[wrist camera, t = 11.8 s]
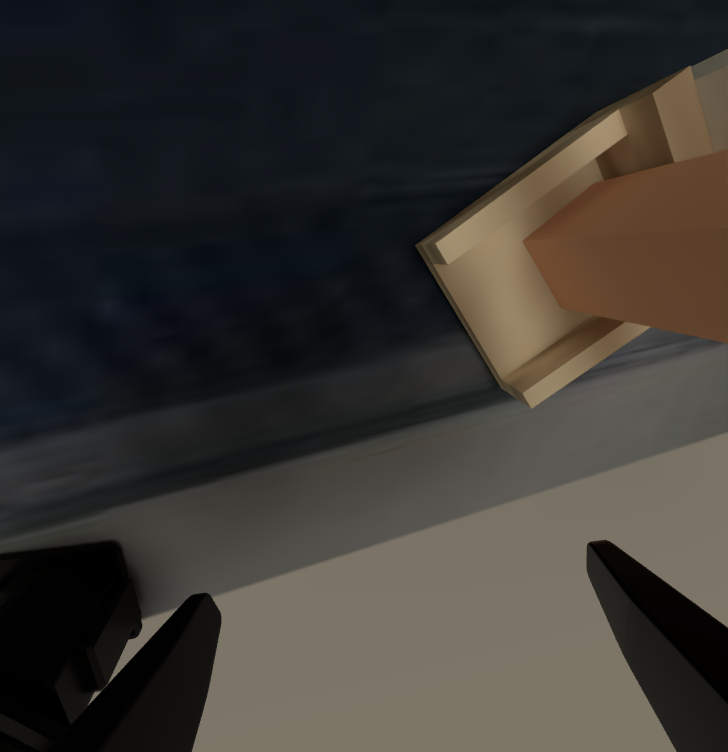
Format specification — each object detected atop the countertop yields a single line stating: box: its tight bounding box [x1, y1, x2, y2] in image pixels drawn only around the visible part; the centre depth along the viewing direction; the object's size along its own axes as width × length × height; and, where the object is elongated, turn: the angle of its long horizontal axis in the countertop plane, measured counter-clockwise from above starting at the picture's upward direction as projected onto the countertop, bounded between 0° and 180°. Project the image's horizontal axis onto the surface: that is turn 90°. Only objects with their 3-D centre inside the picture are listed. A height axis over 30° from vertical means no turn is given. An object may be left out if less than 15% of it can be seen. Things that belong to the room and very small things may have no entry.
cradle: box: [415, 66, 715, 409], centre depth 17 cm, size 10×9×4 cm
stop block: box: [691, 49, 728, 152], centre depth 16 cm, size 2×8×6 cm, turn 35°
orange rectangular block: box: [523, 149, 728, 343], centre depth 12 cm, size 4×4×12 cm
